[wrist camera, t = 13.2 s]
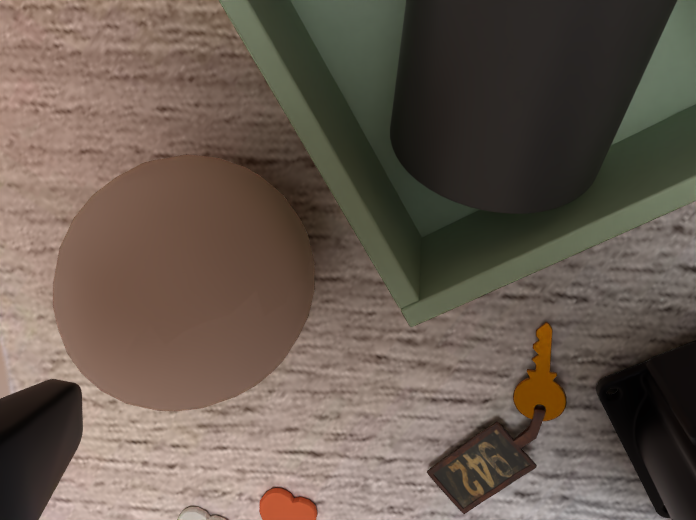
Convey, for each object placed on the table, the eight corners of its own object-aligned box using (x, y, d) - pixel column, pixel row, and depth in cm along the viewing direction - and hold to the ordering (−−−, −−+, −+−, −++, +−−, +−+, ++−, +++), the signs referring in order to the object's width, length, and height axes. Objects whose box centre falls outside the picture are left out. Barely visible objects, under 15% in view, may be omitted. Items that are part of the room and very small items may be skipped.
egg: (118, 133, 21) (-58, 201, 13) (328, 133, 20) (268, 207, 13) (147, 322, 24) (13, 470, 16) (334, 329, 23) (286, 490, 15)
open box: (752, 91, 18) (878, 121, 13) (414, 254, 21) (410, 328, 16) (606, -317, 15) (694, -479, 10) (238, -59, 18) (166, -86, 13)
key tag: (485, 519, 25) (483, 529, 24) (422, 473, 25) (419, 482, 24) (617, 364, 22) (619, 371, 21) (543, 316, 22) (543, 321, 22)
